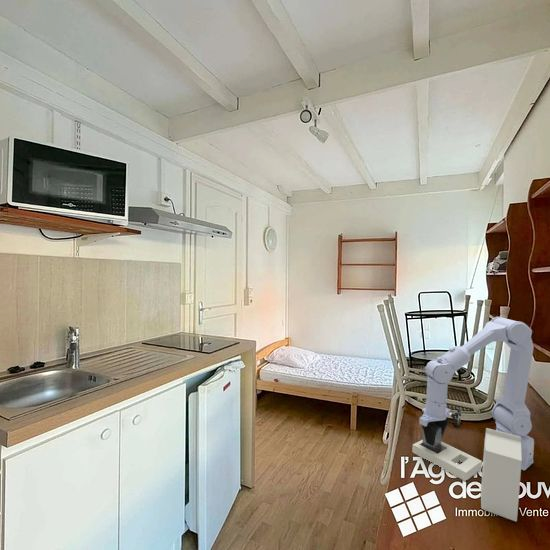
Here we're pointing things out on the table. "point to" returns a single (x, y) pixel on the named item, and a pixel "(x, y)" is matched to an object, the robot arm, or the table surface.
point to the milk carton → (501, 474)
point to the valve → (456, 416)
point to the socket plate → (450, 460)
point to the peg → (437, 443)
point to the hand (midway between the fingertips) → (433, 441)
